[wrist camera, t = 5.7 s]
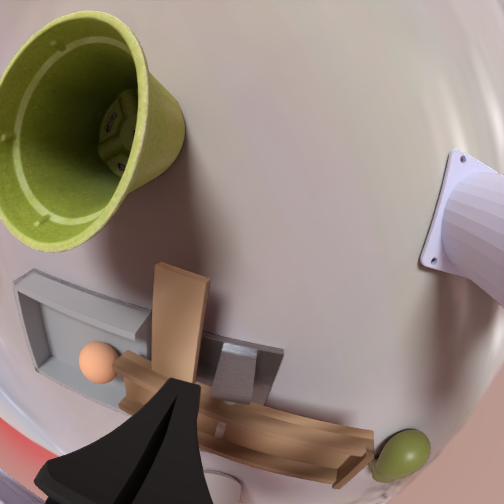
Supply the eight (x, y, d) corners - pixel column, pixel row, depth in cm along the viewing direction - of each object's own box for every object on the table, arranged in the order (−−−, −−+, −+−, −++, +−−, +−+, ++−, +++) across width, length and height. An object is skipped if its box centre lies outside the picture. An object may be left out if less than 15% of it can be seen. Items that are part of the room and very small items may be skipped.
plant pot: (67, 179, 17) (-27, 205, 8) (112, 52, 13) (23, 15, 5) (177, 230, 17) (103, 295, 9) (239, 85, 14) (201, 21, 6)
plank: (434, 341, 12) (446, 369, 10) (339, 466, 17) (337, 490, 15) (128, 247, 16) (99, 261, 13) (132, 395, 20) (116, 414, 18)
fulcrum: (283, 349, 19) (283, 398, 15) (255, 420, 22) (251, 462, 18) (200, 330, 19) (181, 376, 15) (191, 405, 22) (177, 446, 18)
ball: (93, 327, 20) (126, 343, 20) (97, 357, 21) (129, 373, 21) (67, 348, 17) (101, 369, 16) (74, 379, 18) (107, 399, 18)
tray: (151, 310, 19) (135, 333, 16) (152, 398, 23) (141, 420, 20) (33, 268, 19) (12, 282, 17) (50, 354, 23) (35, 370, 20)
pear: (444, 457, 17) (402, 485, 22) (433, 417, 21) (397, 452, 26) (397, 470, 17) (362, 493, 22) (389, 425, 22) (358, 458, 26)
